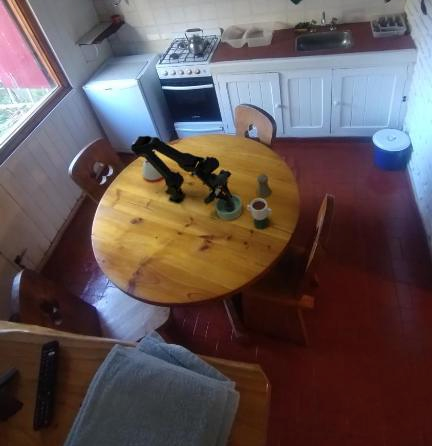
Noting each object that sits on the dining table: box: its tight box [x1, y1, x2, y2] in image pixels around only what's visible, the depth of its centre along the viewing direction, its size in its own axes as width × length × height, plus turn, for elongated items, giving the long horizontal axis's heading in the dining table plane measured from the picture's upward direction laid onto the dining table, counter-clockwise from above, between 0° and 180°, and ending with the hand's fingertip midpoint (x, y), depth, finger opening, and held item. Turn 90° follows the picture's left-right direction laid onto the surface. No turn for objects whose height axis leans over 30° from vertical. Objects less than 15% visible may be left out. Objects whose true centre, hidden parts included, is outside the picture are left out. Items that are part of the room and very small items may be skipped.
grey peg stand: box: [224, 192, 235, 212], centre depth 162 cm, size 5×5×10 cm
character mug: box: [246, 197, 273, 230], centre depth 151 cm, size 11×7×13 cm, turn 69°
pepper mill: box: [256, 173, 271, 198], centre depth 166 cm, size 6×6×11 cm
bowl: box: [214, 193, 243, 221], centre depth 163 cm, size 12×12×4 cm
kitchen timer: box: [141, 150, 165, 183], centre depth 189 cm, size 14×14×15 cm
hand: (230, 199), depth 160 cm, fingers closed on grey peg stand, 2 cm apart
